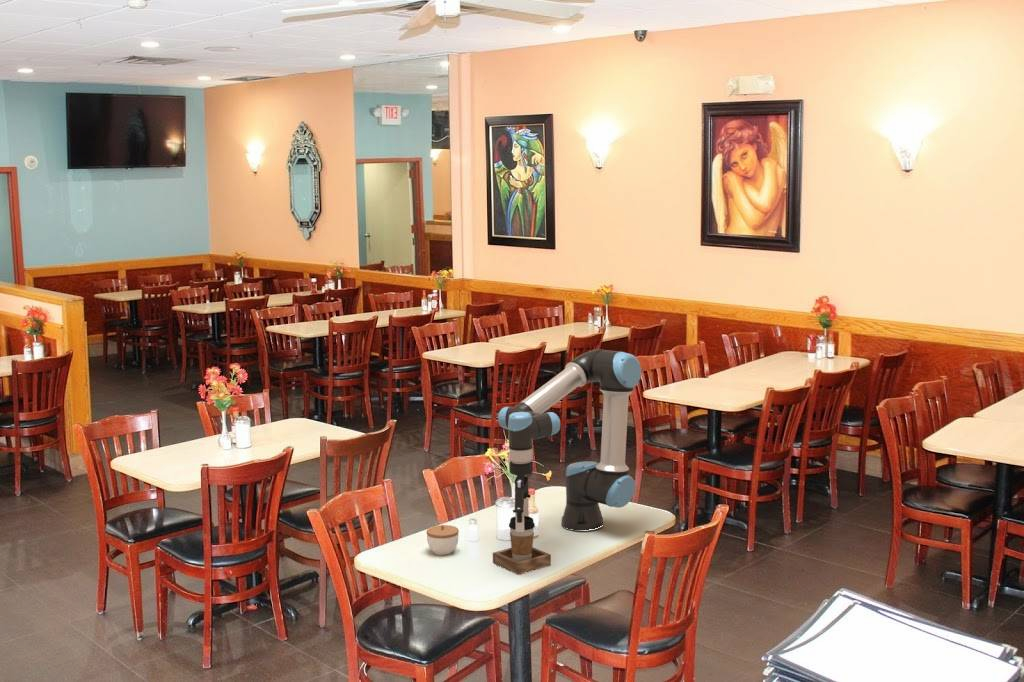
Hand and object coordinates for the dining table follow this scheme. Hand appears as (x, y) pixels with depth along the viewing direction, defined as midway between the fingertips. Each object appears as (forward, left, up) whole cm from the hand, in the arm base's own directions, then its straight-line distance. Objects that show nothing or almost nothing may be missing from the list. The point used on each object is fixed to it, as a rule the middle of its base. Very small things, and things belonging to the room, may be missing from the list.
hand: (522, 524), depth 339 cm
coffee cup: (0, 0, -13) cm, 13 cm away
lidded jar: (+13, -26, -14) cm, 32 cm away
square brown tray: (0, 0, -13) cm, 13 cm away
